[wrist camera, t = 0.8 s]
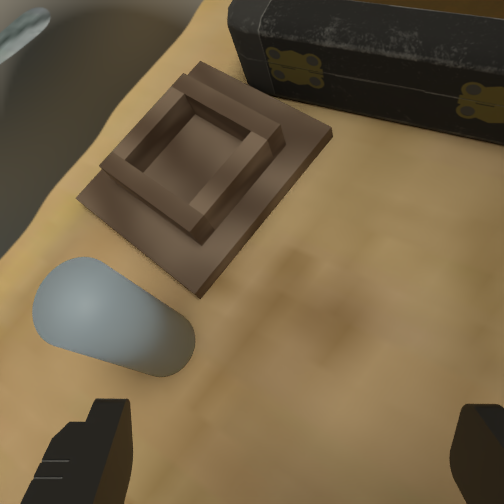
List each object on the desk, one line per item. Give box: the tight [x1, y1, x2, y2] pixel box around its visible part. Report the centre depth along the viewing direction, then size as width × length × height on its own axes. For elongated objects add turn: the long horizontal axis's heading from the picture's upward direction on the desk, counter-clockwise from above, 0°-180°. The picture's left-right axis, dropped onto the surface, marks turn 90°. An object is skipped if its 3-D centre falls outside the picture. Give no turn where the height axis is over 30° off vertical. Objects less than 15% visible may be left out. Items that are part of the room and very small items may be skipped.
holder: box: [76, 61, 333, 299], centre depth 36 cm, size 16×14×4 cm
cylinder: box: [32, 257, 195, 377], centre depth 28 cm, size 5×5×11 cm
